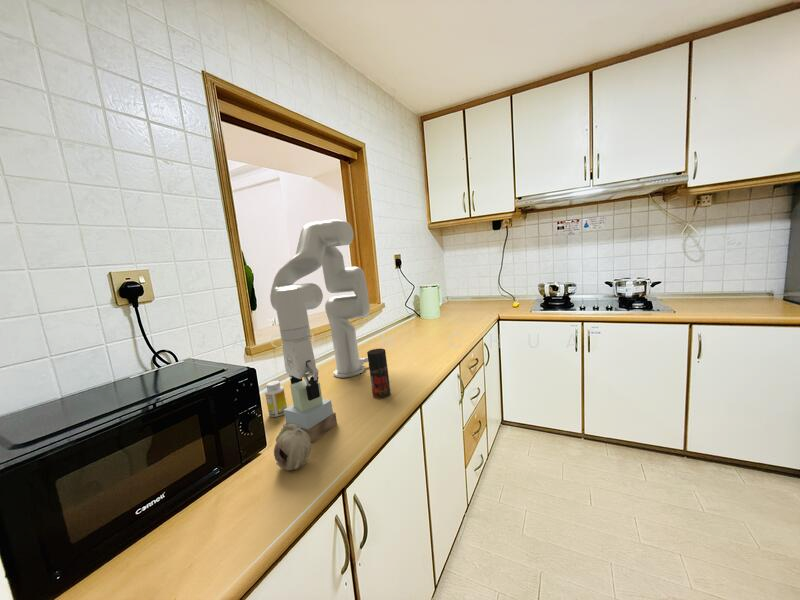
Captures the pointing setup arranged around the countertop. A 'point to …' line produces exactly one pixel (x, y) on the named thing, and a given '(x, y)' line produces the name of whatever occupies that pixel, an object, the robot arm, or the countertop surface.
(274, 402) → the supplement bottle
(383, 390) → the deodorant
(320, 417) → the grey-blue block
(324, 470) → the countertop surface
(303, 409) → the sage cube
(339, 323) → the robot arm
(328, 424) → the walnut block
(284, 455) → the garlic bulb
